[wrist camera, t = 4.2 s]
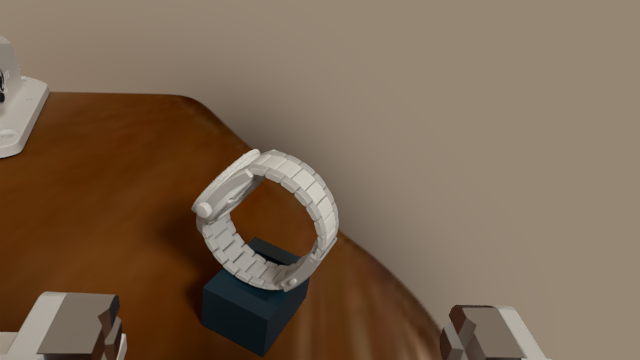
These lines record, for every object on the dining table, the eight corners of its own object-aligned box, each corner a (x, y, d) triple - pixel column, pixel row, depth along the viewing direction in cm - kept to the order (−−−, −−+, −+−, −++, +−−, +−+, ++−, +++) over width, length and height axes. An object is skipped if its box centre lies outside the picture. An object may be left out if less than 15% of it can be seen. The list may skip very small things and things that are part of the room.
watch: (228, 260, 32) (237, 120, 26) (329, 308, 30) (363, 166, 24) (174, 311, 27) (172, 155, 22) (288, 372, 25) (319, 216, 19)
